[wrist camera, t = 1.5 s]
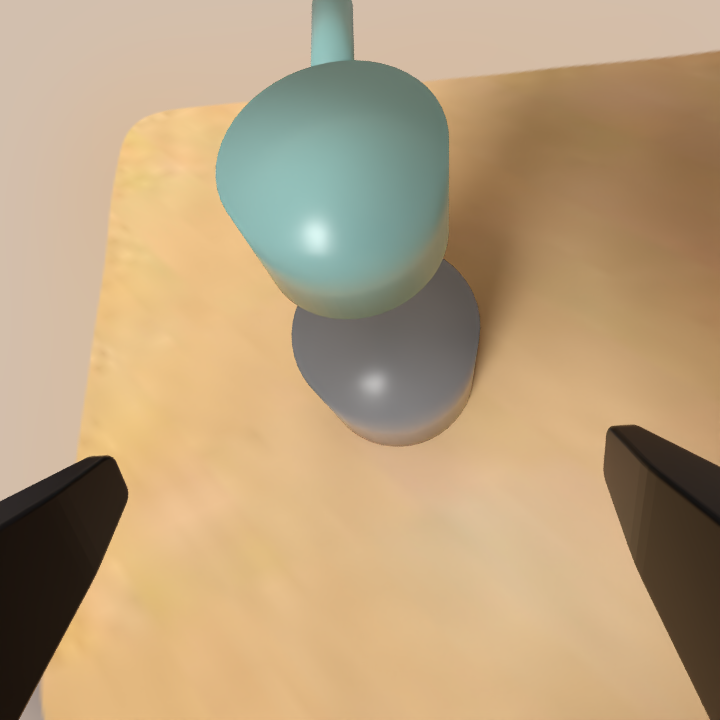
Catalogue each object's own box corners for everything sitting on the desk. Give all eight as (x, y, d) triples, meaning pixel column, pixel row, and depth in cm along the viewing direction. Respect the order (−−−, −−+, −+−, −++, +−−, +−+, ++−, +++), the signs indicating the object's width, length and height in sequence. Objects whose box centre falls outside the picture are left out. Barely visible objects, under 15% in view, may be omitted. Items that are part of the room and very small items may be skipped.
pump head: (456, 341, 13) (460, 235, 9) (286, 355, 14) (206, 265, 9) (435, 133, 16) (429, -35, 11) (292, 154, 16) (231, 5, 12)
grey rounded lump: (480, 442, 21) (491, 411, 16) (326, 450, 22) (289, 424, 17) (464, 300, 24) (469, 233, 19) (326, 314, 25) (293, 254, 20)
